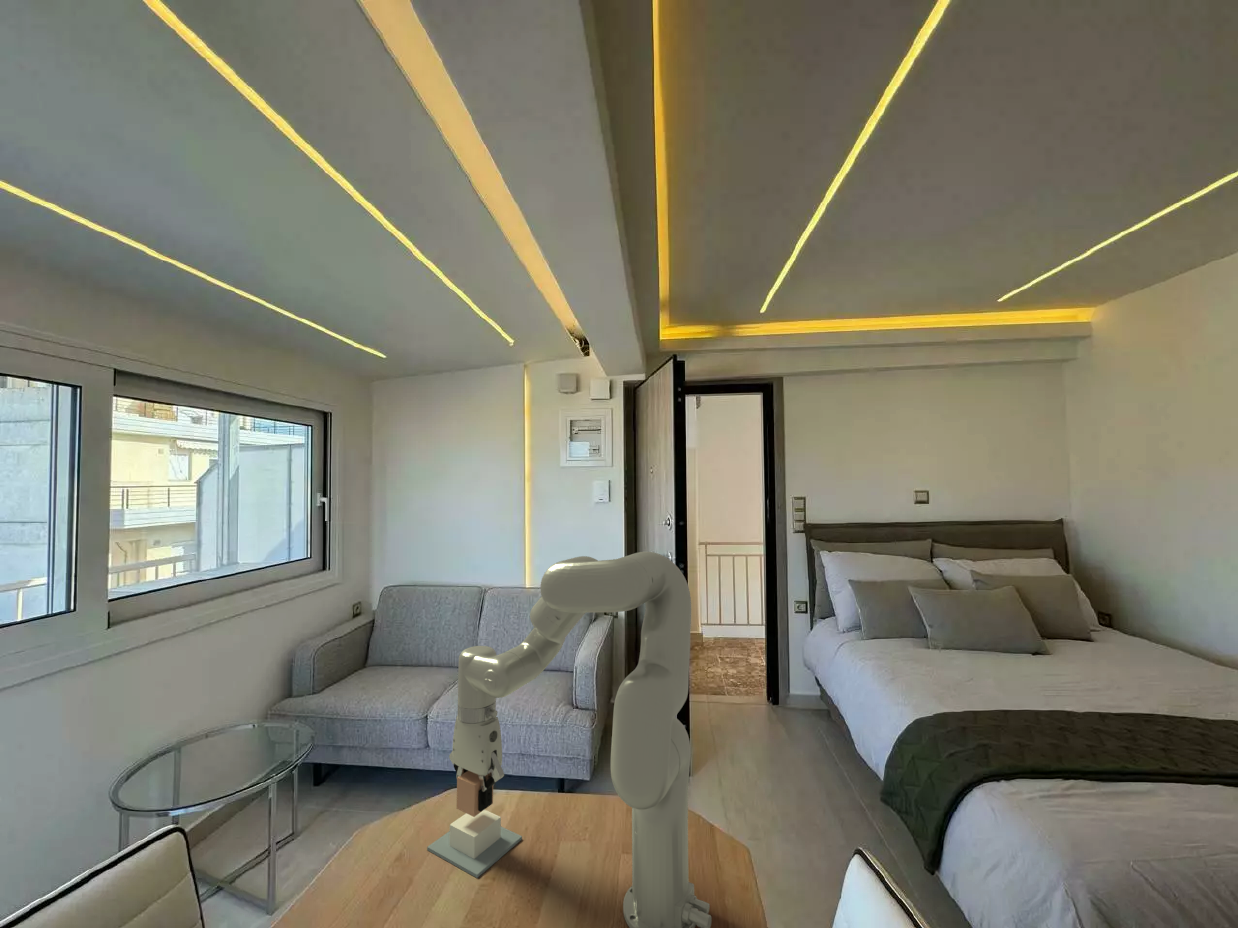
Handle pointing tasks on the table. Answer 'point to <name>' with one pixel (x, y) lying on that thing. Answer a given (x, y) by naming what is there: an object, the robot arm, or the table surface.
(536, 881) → the table surface
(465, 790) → the terracotta block
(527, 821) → the table surface
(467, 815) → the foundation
